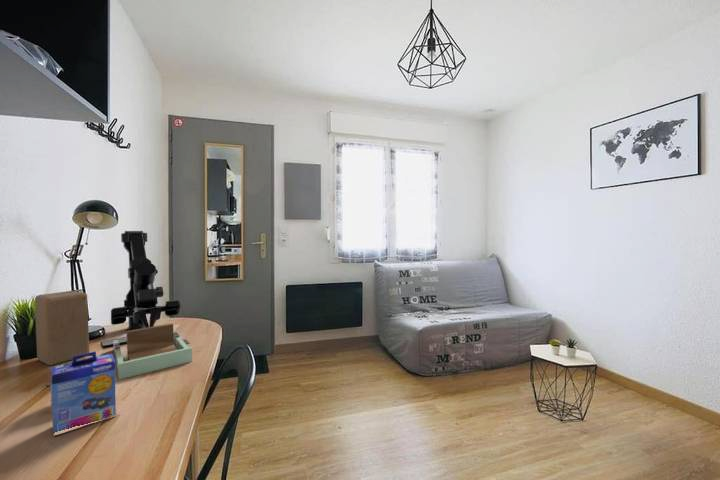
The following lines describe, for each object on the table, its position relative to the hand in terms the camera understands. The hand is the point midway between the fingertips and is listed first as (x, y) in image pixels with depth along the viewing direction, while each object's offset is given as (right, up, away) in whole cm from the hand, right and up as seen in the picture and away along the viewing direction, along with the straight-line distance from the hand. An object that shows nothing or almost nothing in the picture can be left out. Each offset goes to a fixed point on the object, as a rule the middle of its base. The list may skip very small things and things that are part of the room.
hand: (150, 333), depth 101 cm
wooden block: (-26, -7, -2) cm, 27 cm away
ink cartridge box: (+10, -8, -35) cm, 38 cm away
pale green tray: (+1, -7, 0) cm, 7 cm away
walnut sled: (+4, -7, -5) cm, 9 cm away
